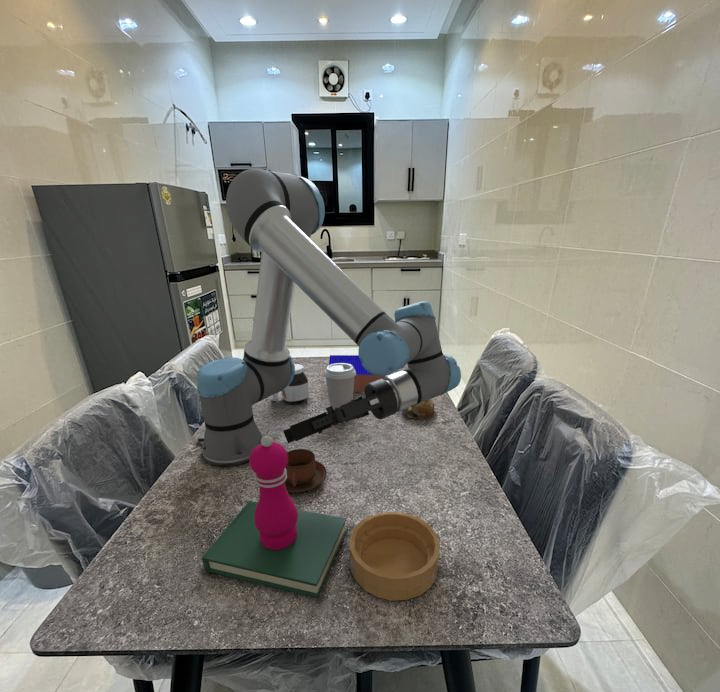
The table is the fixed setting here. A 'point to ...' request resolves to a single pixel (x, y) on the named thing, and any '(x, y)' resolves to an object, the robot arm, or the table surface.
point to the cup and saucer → (303, 471)
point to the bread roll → (421, 410)
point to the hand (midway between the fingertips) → (288, 435)
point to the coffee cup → (340, 383)
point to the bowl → (394, 555)
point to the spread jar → (296, 388)
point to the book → (278, 552)
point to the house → (361, 373)
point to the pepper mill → (273, 495)
